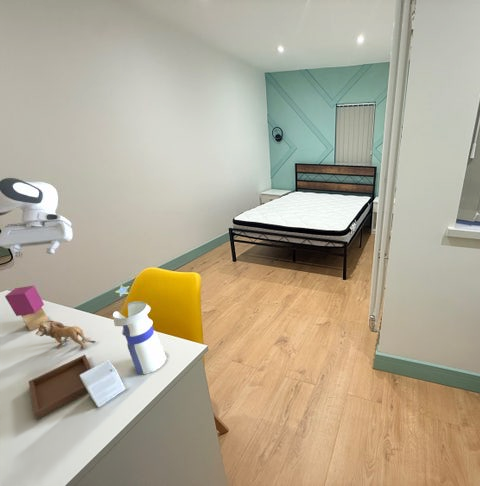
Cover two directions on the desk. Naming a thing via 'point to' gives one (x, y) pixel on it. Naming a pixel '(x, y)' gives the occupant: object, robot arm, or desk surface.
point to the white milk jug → (140, 336)
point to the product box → (102, 382)
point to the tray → (58, 386)
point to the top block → (24, 300)
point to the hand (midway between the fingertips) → (34, 255)
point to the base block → (35, 319)
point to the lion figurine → (62, 332)
